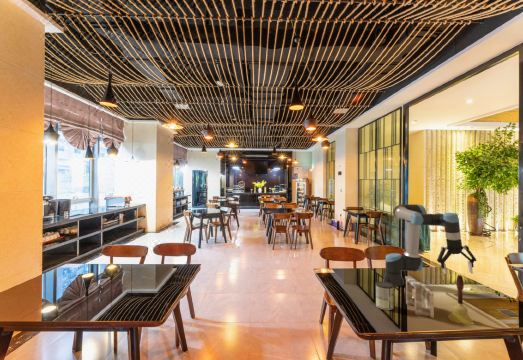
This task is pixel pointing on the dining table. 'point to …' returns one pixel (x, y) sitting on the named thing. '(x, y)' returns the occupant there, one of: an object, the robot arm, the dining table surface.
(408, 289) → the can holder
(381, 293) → the coffee can
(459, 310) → the handbell
